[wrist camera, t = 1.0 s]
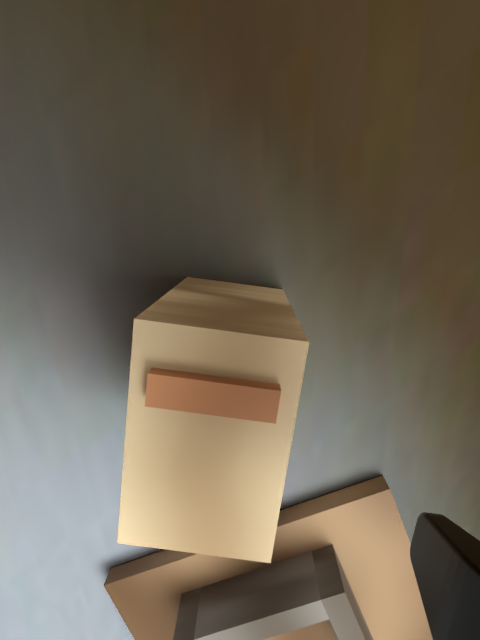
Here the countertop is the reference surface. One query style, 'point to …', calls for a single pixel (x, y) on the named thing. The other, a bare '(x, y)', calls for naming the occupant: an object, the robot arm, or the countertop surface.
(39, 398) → the countertop surface
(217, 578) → the holder
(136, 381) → the keyed block
